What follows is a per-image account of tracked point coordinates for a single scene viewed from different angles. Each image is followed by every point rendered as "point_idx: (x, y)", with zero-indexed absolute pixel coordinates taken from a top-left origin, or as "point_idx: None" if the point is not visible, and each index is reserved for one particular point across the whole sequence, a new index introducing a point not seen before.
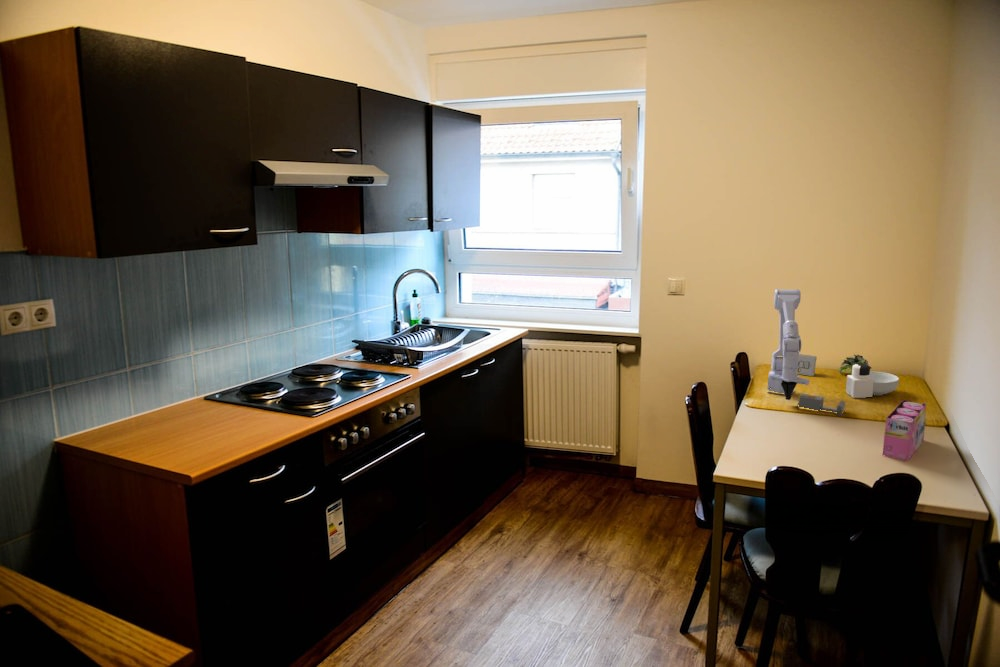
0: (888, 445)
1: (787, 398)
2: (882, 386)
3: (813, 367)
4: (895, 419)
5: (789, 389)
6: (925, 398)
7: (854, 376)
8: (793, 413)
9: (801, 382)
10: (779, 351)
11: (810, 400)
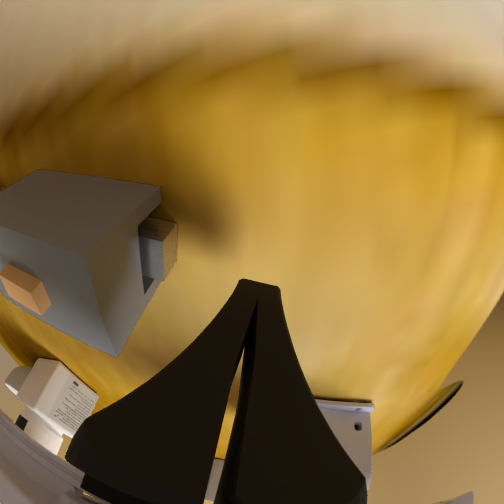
0: None
1: (259, 290)
2: (12, 375)
3: (211, 477)
4: None
5: (199, 396)
6: (5, 347)
7: (45, 425)
8: (184, 25)
9: (24, 453)
10: None
11: (19, 218)
